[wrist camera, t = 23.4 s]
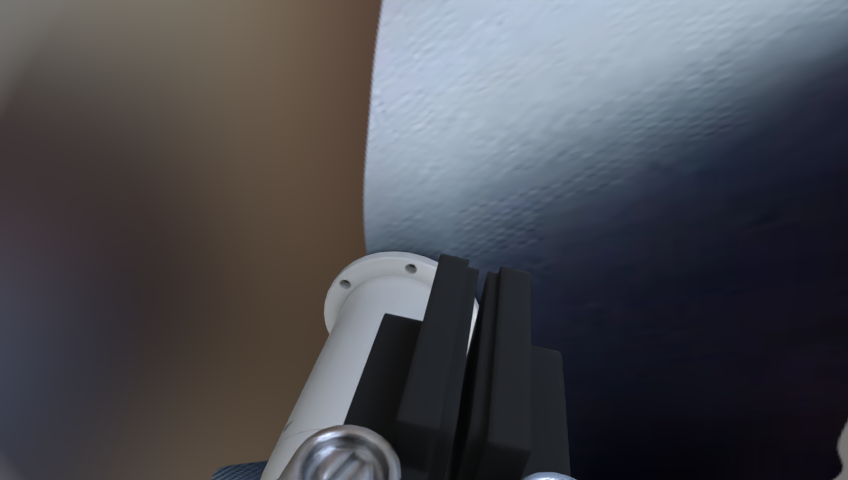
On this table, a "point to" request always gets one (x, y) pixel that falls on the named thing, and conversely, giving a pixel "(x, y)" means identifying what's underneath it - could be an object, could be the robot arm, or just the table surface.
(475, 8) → the table surface
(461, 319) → the robot arm
